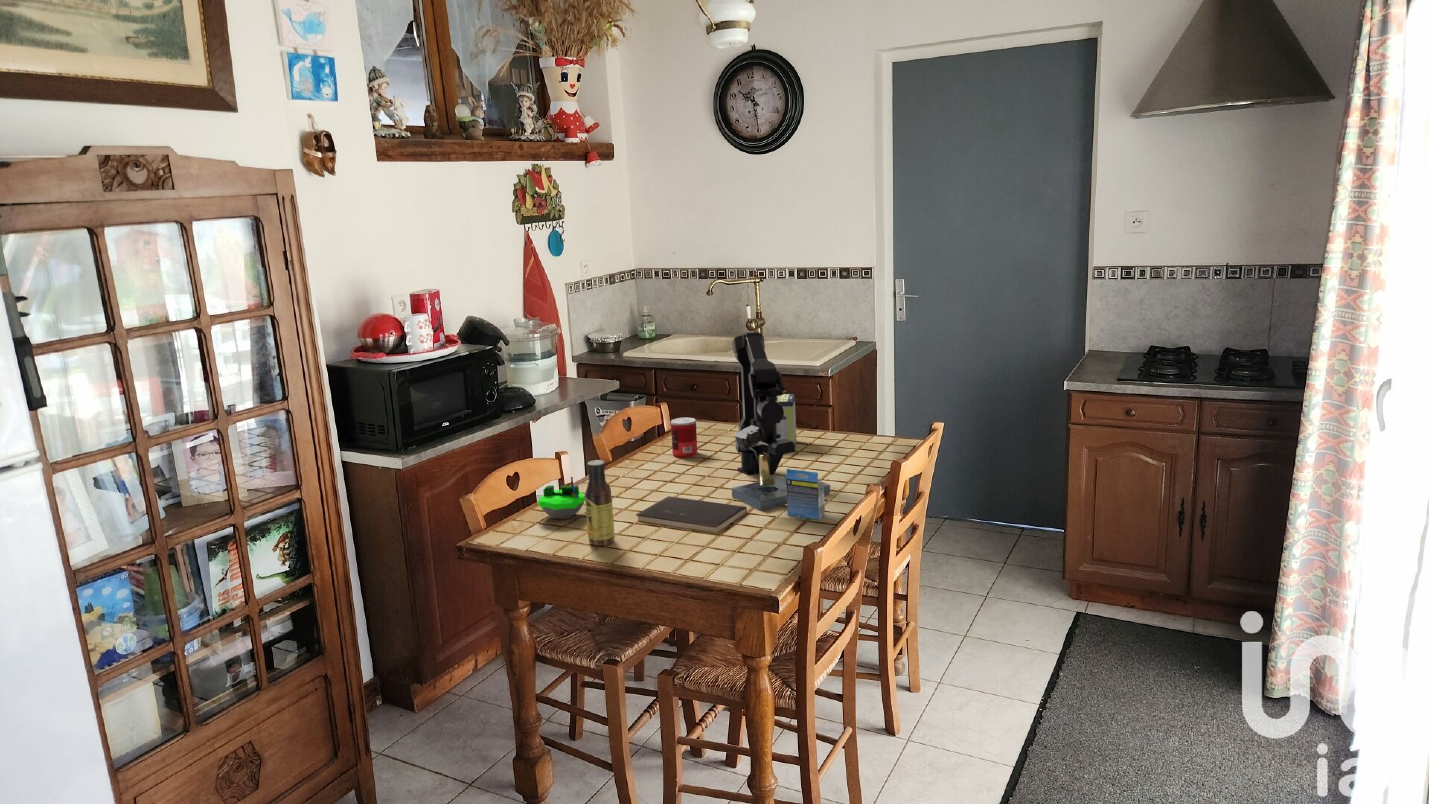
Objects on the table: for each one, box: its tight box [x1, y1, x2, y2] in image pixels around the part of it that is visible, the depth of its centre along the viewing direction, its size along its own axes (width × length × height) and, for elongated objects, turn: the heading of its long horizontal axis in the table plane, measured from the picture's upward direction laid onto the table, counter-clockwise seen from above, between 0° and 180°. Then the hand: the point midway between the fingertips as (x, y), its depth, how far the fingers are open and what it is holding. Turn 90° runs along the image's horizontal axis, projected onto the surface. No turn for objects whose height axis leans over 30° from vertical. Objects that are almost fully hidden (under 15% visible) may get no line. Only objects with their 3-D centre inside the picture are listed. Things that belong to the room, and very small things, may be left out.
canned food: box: [670, 416, 698, 459], centre depth 293 cm, size 8×8×11 cm
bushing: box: [759, 452, 776, 486], centre depth 247 cm, size 4×4×8 cm
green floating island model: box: [537, 476, 585, 520], centre depth 241 cm, size 12×12×11 cm
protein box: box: [776, 393, 797, 445], centre depth 299 cm, size 10×16×16 cm
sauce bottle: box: [584, 459, 615, 547], centre depth 221 cm, size 7×6×20 cm
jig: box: [731, 474, 831, 511], centre depth 251 cm, size 14×22×3 cm, turn 120°
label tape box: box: [785, 468, 826, 521], centre depth 233 cm, size 9×4×12 cm, turn 60°
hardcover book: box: [635, 495, 748, 533], centre depth 238 cm, size 16×23×2 cm
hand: (767, 472), depth 248 cm, fingers closed on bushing, 4 cm apart
